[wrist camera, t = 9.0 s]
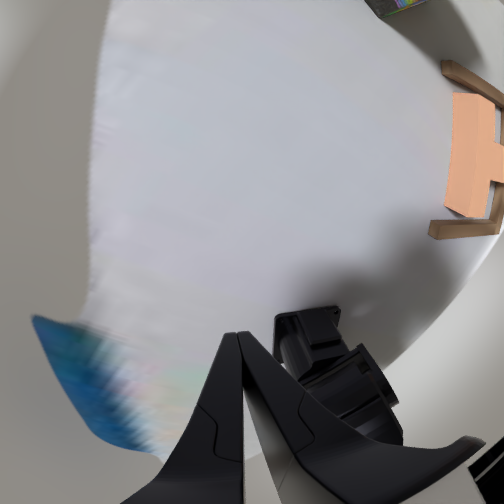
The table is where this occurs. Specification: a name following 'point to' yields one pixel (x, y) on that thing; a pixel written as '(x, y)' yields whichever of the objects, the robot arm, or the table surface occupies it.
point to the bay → (500, 206)
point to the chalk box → (391, 6)
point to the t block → (473, 155)
